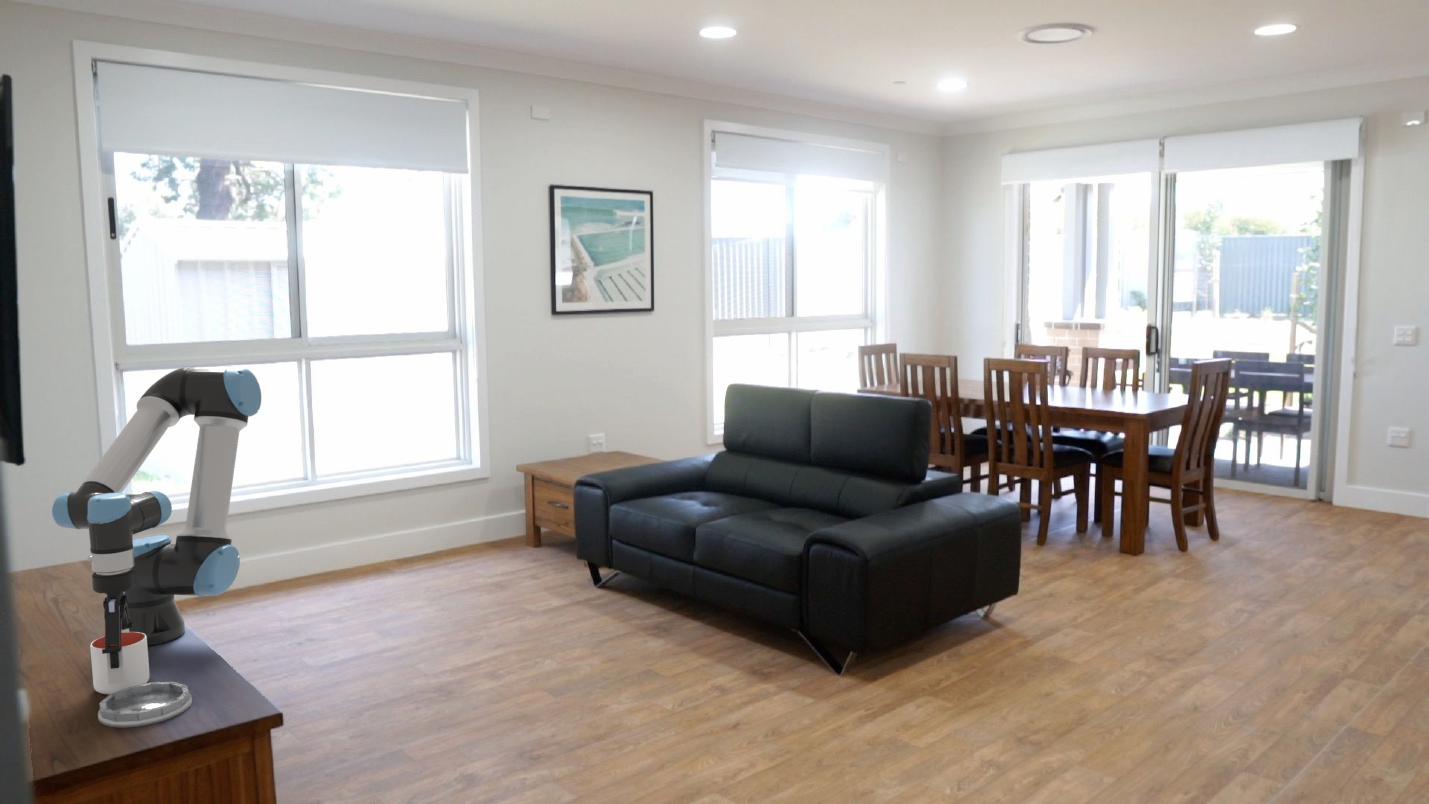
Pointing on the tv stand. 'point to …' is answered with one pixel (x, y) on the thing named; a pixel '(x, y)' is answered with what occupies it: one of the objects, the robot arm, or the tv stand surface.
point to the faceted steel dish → (144, 704)
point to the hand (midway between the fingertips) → (120, 670)
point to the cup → (132, 659)
